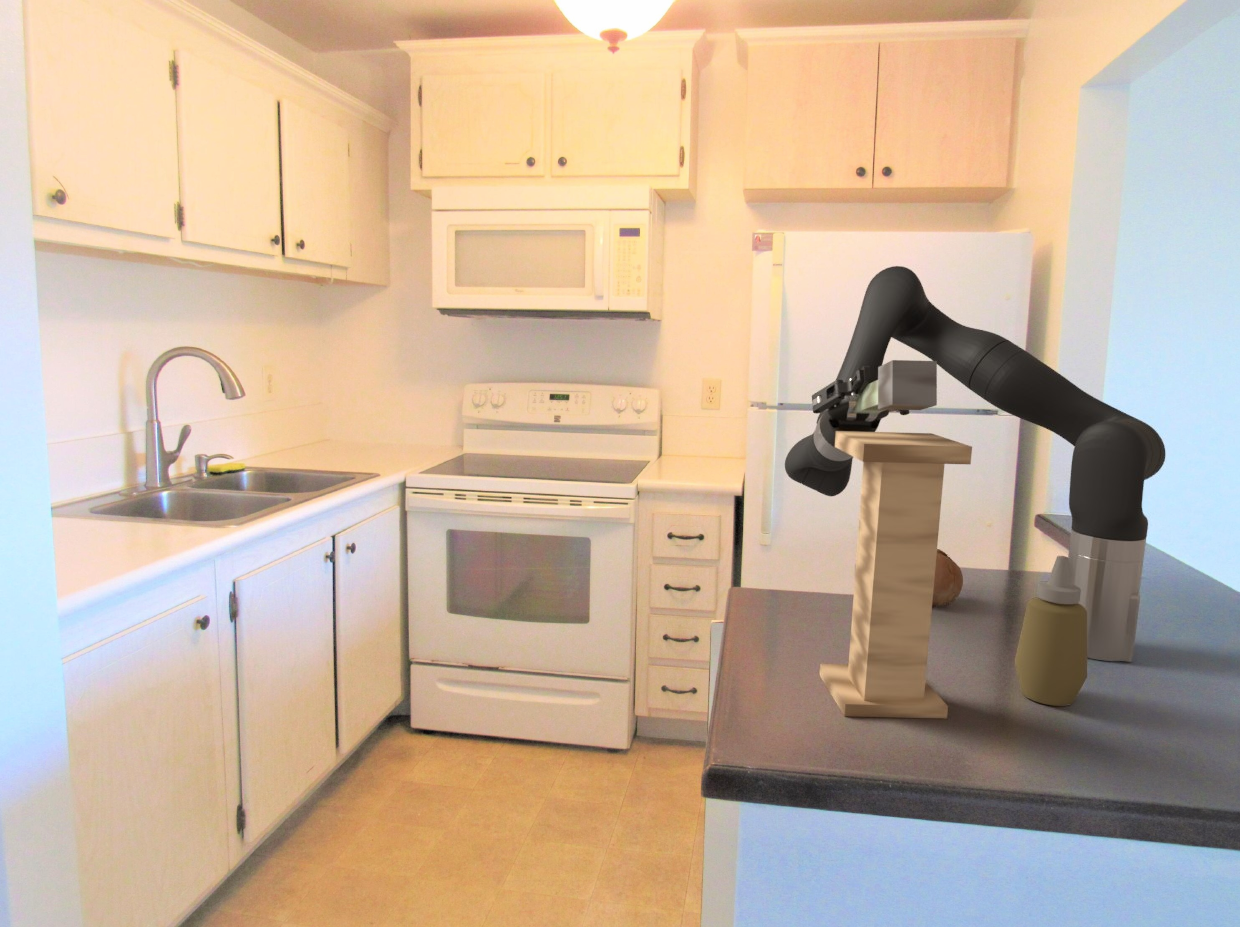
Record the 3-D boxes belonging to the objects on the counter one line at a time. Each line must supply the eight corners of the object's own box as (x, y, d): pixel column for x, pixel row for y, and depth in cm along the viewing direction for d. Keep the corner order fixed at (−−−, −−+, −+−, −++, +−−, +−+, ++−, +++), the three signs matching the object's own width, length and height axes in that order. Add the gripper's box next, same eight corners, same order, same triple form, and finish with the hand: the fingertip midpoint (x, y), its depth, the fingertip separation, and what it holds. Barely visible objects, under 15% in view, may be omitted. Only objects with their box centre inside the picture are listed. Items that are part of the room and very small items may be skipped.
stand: (819, 674, 110) (835, 430, 105) (910, 676, 110) (931, 433, 105) (844, 716, 98) (864, 443, 93) (946, 718, 98) (972, 446, 93)
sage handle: (845, 420, 113) (845, 383, 113) (882, 421, 113) (883, 384, 113) (892, 404, 95) (892, 360, 95) (936, 405, 95) (936, 361, 95)
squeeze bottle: (1081, 717, 99) (1098, 570, 97) (1006, 700, 104) (1021, 558, 101) (1085, 693, 106) (1102, 555, 103) (1015, 678, 110) (1029, 545, 108)
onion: (929, 613, 145) (941, 558, 147) (969, 616, 136) (981, 557, 138) (885, 597, 142) (897, 540, 144) (923, 599, 133) (936, 538, 136)
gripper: (795, 403, 124) (823, 345, 108) (890, 405, 124) (933, 347, 108) (798, 450, 121) (828, 398, 105) (895, 452, 121) (940, 400, 105)
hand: (881, 373), depth 106 cm, fingers closed on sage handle, 3 cm apart
